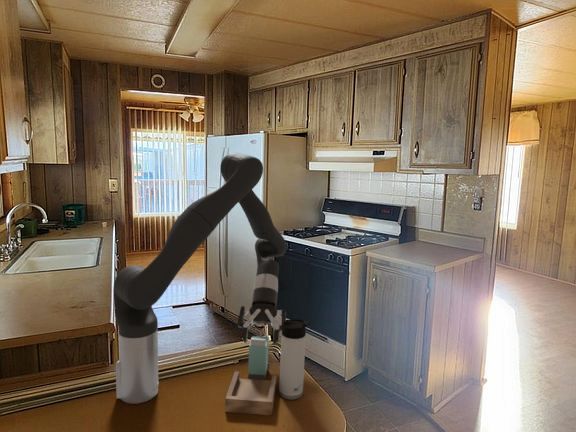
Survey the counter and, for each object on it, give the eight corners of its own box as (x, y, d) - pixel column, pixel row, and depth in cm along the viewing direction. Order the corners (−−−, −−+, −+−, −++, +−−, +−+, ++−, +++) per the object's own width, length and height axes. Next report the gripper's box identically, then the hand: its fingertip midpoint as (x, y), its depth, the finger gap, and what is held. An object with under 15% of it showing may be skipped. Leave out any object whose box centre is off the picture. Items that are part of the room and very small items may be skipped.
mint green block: (248, 379, 111) (249, 339, 109) (251, 367, 117) (252, 329, 115) (265, 380, 111) (266, 340, 109) (267, 368, 117) (268, 331, 115)
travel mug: (301, 401, 102) (305, 328, 99) (276, 397, 103) (279, 324, 100) (305, 388, 108) (309, 318, 105) (281, 384, 109) (284, 315, 106)
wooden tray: (225, 411, 97) (225, 398, 96) (234, 383, 109) (234, 371, 108) (271, 415, 96) (272, 402, 96) (276, 386, 108) (276, 374, 108)
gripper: (241, 284, 122) (233, 337, 112) (288, 287, 121) (284, 340, 112) (244, 295, 128) (236, 345, 118) (288, 298, 127) (284, 348, 118)
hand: (259, 343), depth 115 cm, fingers open, 8 cm apart
